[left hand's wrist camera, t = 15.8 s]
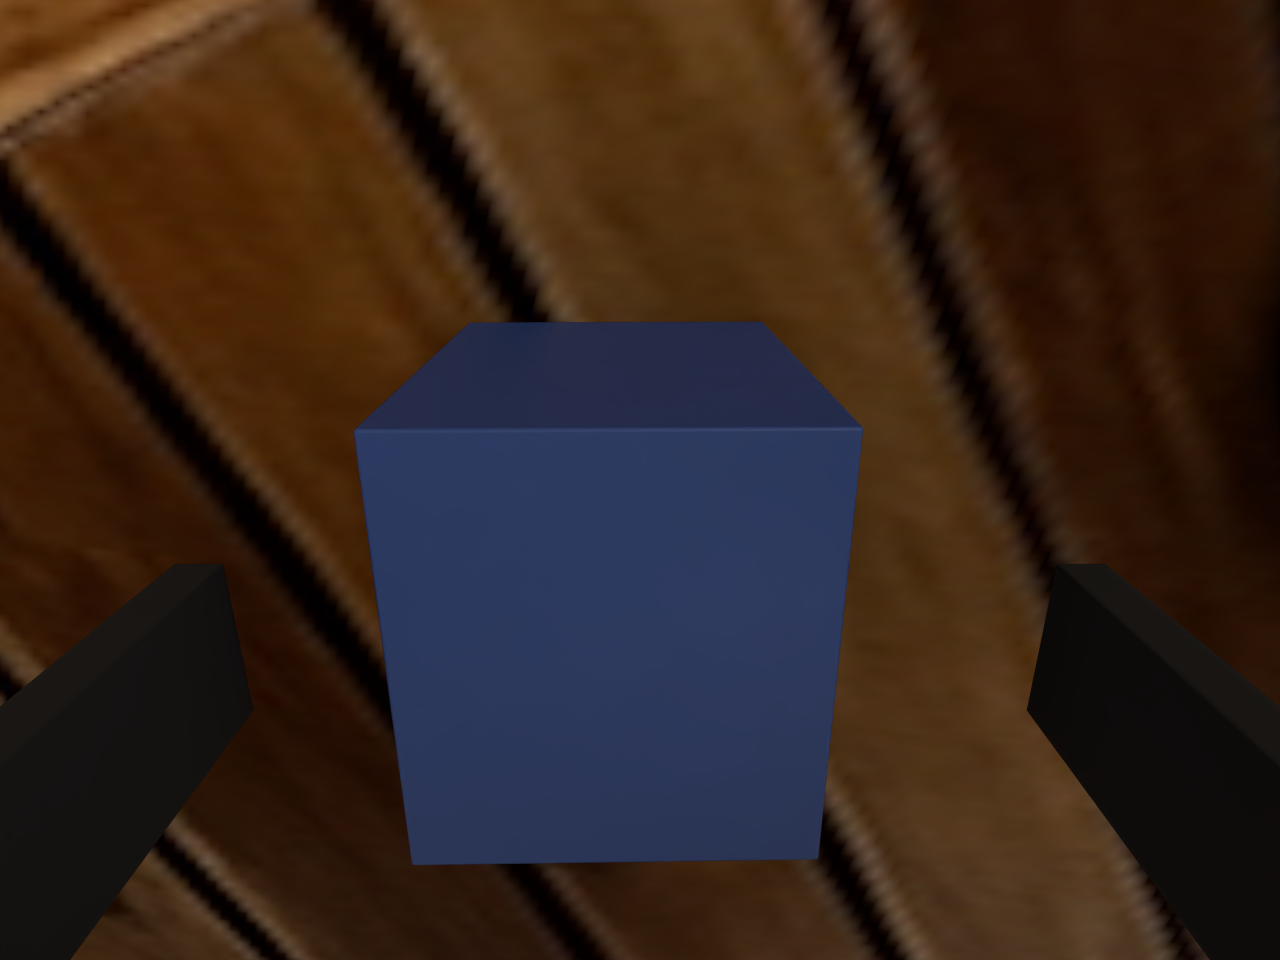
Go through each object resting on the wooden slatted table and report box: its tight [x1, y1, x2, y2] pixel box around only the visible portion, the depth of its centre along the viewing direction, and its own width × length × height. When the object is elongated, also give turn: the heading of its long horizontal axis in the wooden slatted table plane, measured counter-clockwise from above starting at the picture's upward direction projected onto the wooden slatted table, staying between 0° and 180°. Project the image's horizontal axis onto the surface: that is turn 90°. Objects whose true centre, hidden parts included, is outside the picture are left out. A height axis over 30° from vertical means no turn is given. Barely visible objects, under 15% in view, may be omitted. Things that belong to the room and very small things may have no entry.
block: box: [354, 322, 863, 865], centre depth 15 cm, size 7×7×8 cm
